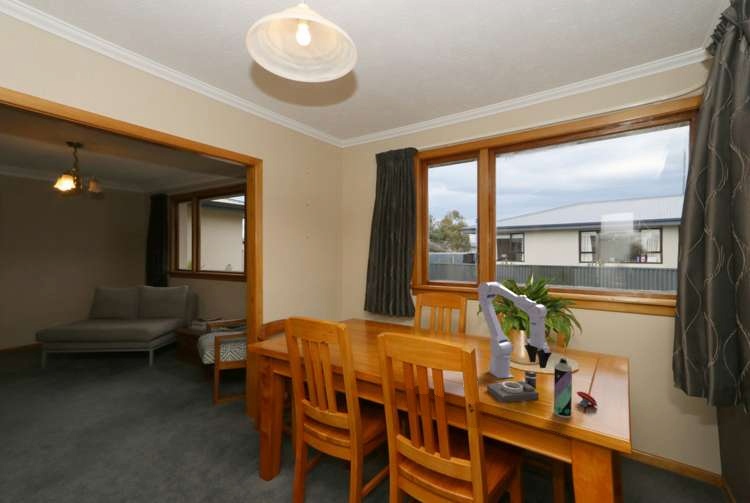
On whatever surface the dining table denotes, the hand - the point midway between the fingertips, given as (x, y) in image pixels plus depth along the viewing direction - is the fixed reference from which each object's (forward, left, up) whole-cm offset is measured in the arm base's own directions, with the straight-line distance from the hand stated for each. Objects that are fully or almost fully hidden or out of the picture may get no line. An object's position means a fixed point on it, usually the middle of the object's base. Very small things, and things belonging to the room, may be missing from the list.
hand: (537, 364), depth 142 cm
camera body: (+4, -15, -10) cm, 18 cm away
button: (+18, +7, -10) cm, 22 cm away
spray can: (+22, -7, -10) cm, 25 cm away
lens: (-2, -2, -10) cm, 10 cm away
